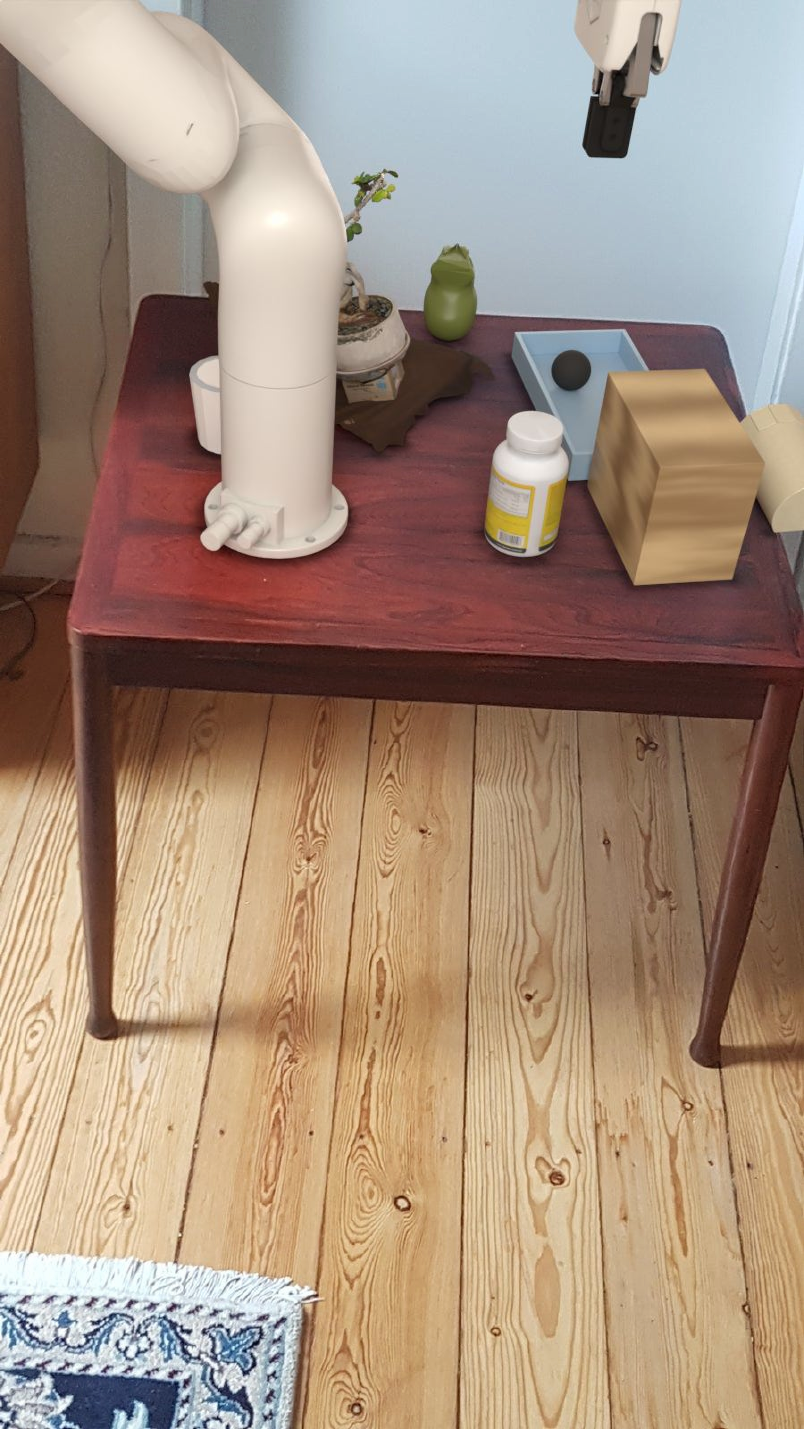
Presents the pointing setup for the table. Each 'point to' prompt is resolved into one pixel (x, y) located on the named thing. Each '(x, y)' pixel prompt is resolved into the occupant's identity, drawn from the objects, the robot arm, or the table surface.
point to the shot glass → (207, 402)
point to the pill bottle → (527, 486)
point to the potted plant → (384, 353)
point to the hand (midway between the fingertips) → (603, 153)
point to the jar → (779, 464)
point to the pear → (451, 295)
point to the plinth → (673, 476)
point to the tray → (582, 404)
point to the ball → (571, 370)
